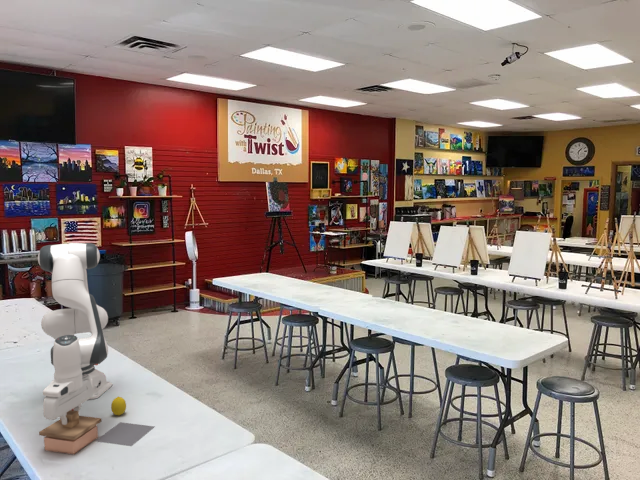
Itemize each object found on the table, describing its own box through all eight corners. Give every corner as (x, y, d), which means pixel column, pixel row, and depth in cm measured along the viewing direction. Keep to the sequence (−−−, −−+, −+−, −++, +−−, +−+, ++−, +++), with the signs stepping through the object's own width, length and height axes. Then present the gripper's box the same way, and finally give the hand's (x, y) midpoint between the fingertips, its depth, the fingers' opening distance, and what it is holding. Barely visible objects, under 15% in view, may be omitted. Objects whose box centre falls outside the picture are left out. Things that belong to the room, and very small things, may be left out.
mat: (120, 423, 196) (120, 422, 196) (155, 427, 193) (155, 426, 193) (94, 442, 182) (94, 441, 182) (131, 447, 178) (131, 446, 178)
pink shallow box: (69, 435, 187) (69, 422, 187) (97, 438, 184) (97, 425, 184) (44, 451, 176) (44, 437, 175) (74, 455, 173) (73, 441, 172)
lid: (68, 417, 188) (67, 402, 187) (101, 421, 184) (100, 406, 184) (39, 435, 174) (38, 419, 174) (74, 440, 171) (73, 424, 170)
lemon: (111, 414, 204) (110, 395, 203) (126, 411, 206) (125, 393, 206) (111, 420, 199) (110, 400, 198) (126, 417, 201) (126, 398, 200)
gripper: (81, 371, 188) (83, 407, 190) (38, 393, 169) (41, 432, 170) (96, 372, 187) (98, 409, 188) (54, 394, 167) (57, 435, 169)
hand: (70, 420), depth 179 cm, fingers closed on lid, 4 cm apart
